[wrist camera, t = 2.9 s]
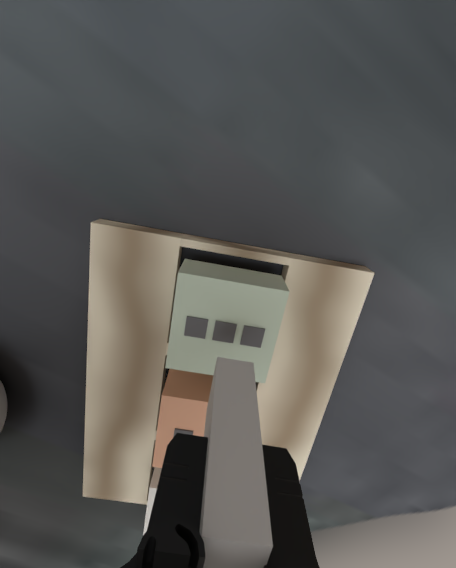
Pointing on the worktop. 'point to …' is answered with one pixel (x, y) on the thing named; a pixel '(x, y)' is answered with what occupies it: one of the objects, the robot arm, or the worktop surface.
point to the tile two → (181, 409)
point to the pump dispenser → (2, 406)
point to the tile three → (225, 317)
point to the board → (155, 338)
